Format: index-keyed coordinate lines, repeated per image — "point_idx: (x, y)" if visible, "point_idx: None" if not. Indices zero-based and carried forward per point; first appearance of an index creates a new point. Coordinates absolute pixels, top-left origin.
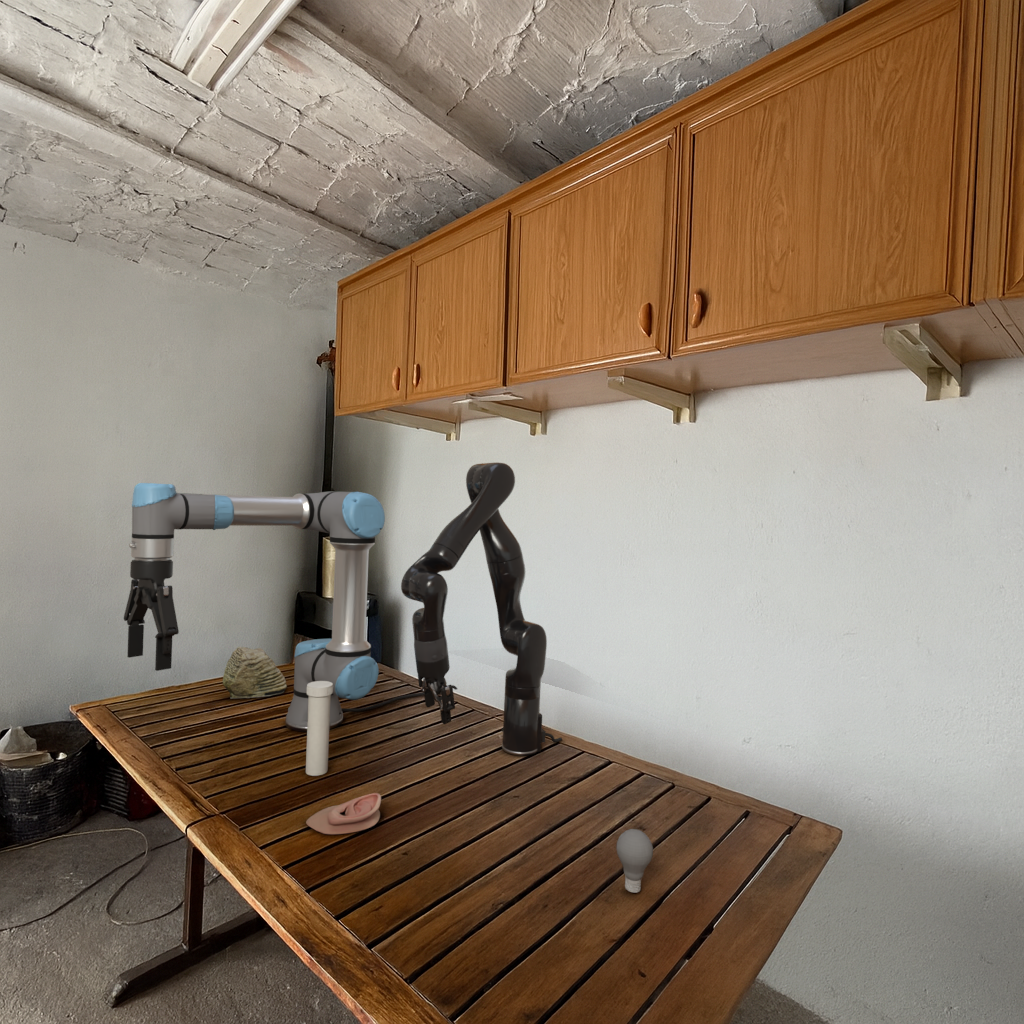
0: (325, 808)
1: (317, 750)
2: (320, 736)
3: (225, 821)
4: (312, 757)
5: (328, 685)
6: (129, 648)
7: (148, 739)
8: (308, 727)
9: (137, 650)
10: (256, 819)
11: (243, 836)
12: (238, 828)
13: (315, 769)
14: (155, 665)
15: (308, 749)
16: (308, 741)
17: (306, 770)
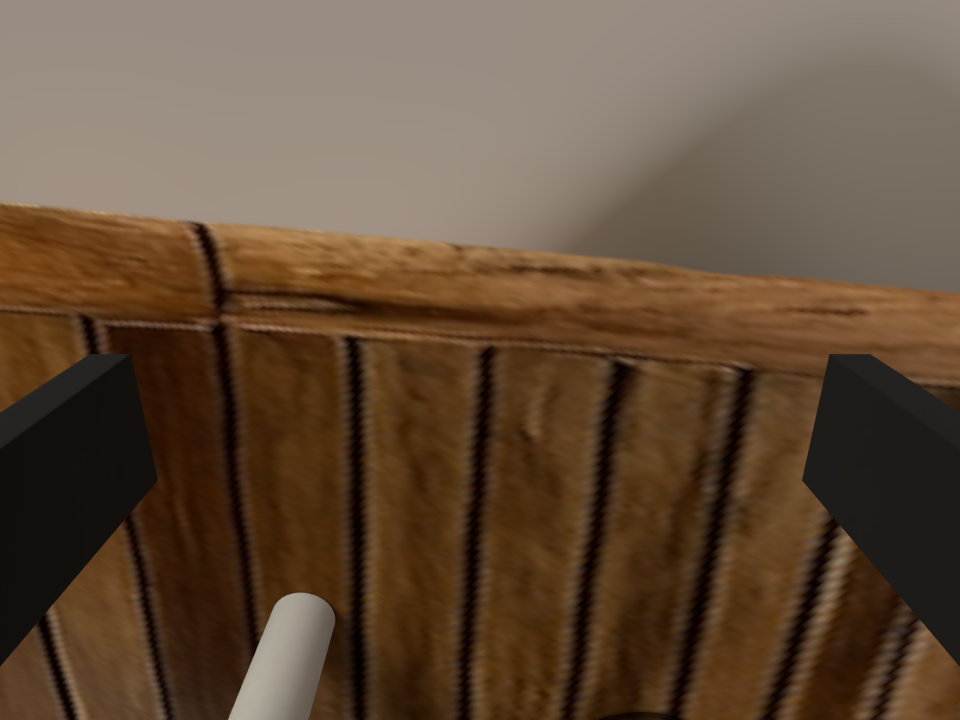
0: None
1: (252, 664)
2: (232, 709)
3: (159, 310)
4: (268, 637)
5: None
6: (889, 402)
7: (952, 404)
8: (260, 716)
9: (844, 465)
10: None
11: (39, 304)
12: (94, 316)
13: (272, 614)
14: (98, 373)
15: (278, 652)
16: (272, 673)
17: (305, 600)
